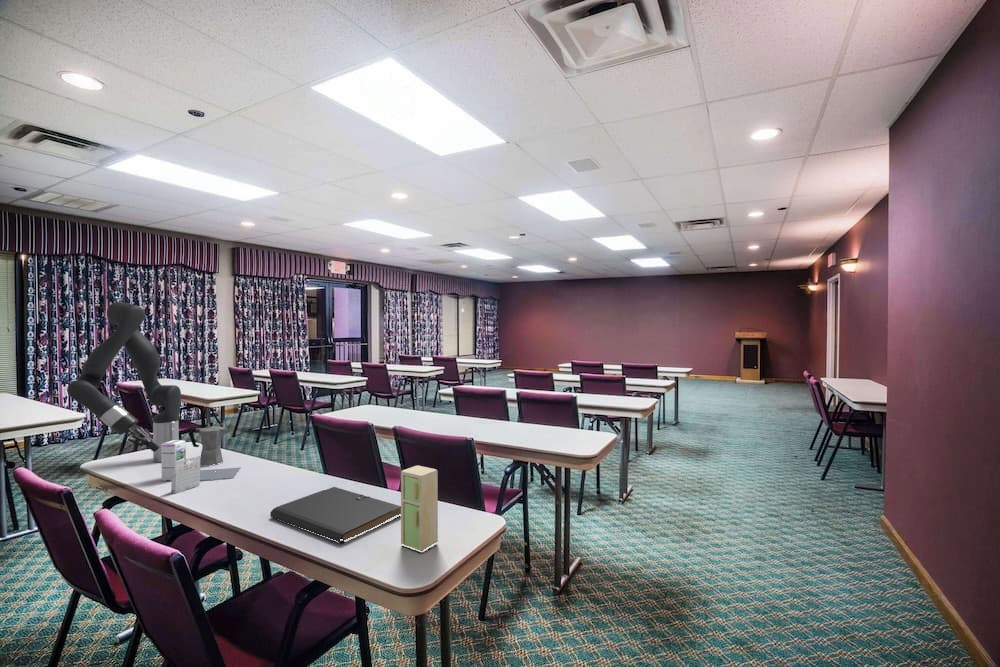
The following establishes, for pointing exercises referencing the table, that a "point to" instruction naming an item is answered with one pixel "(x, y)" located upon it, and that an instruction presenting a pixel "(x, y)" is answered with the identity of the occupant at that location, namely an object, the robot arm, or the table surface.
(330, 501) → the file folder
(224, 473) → the mat
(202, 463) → the coffeepot
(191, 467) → the ink box
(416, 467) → the toy refrigerator
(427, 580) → the table surface
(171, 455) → the syrup box
